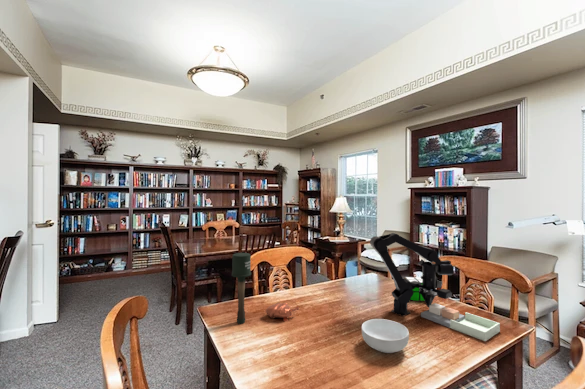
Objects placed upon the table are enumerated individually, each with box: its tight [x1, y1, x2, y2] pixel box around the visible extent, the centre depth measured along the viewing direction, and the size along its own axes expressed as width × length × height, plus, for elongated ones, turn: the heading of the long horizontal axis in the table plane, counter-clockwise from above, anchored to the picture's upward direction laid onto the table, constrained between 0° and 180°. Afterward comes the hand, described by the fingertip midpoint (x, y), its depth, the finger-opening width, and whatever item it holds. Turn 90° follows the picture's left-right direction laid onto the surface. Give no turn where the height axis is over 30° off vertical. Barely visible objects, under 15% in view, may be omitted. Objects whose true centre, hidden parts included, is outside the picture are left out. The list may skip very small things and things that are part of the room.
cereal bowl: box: [361, 318, 410, 354], centre depth 103 cm, size 17×17×7 cm
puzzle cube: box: [404, 276, 425, 302], centre depth 154 cm, size 10×10×10 cm
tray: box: [449, 311, 501, 342], centre depth 117 cm, size 14×13×4 cm
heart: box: [265, 302, 300, 323], centre depth 129 cm, size 6×12×15 cm
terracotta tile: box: [442, 307, 460, 320], centre depth 125 cm, size 5×5×3 cm
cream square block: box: [428, 302, 447, 315], centre depth 130 cm, size 5×5×3 cm
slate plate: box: [420, 309, 465, 329], centre depth 128 cm, size 14×13×2 cm
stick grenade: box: [231, 252, 252, 325], centre depth 122 cm, size 8×9×30 cm
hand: (428, 307), depth 133 cm, fingers closed
